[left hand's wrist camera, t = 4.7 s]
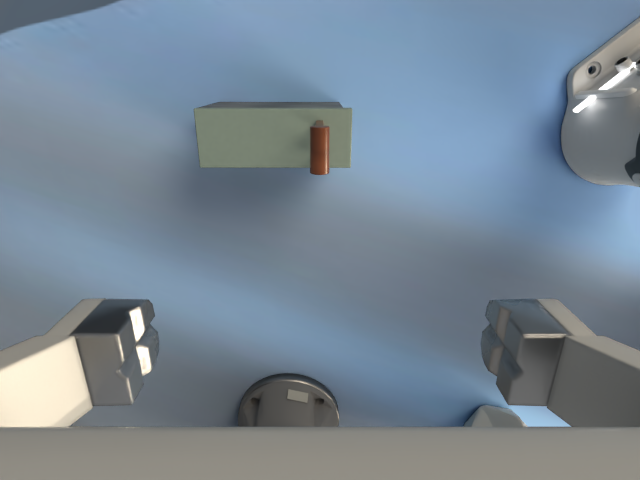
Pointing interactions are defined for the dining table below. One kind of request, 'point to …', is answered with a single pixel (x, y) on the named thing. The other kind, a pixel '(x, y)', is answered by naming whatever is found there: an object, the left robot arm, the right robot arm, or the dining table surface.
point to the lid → (274, 138)
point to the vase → (494, 418)
